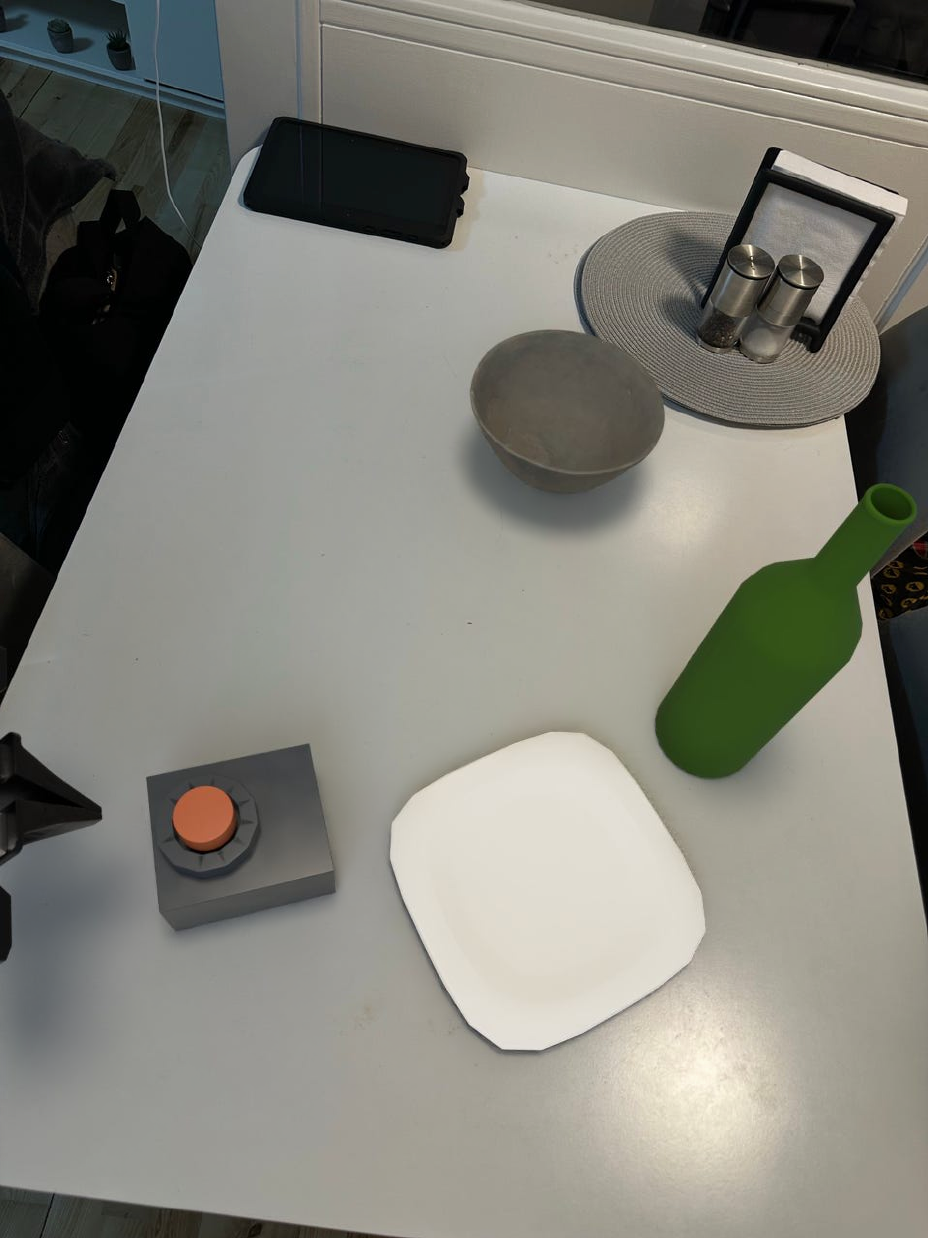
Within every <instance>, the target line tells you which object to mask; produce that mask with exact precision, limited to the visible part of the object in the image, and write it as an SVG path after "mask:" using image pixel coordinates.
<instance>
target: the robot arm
mask: <svg viewBox="0 0 928 1238" xmlns="http://www.w3.org/2000/svg"><path fill="white" fill-rule="evenodd" d="M7 651H8V650H7V648H5V647H4V646H2V645H0V693H2V692H3V691H4V690H6V689H7V688H8V652H7ZM102 820H103V808H102V806H101V805H99V804H98V803H96V802H95V801H94V800H92V799H90V798H89V797H88V796H86V795H85V794H83V793H82V792H80V791H79V790H78V789H77V788H75V787H74V786H72V785H71V784H69V783H67V782H66V781H64V779H62V778H61V777H59V776H58V775H57V774H55V773H54V772H53V771H52V770H50V769H49V768H48V767H47V766H46V765H45V764H43V762H41V761H40V760H39V759H38V758H37V757H35V756H34V755H33V754H32V753H31V752H30V751H29V750H28V749H27V748H25V747H24V745H23V742H22V737H21V734H20V733H18V732H15V731H9V732H7V733H6V734H5V735H4V736H2V737H1V738H0V867H2V866H4V865H5V864H6V863H8V862H9V861H11V860H12V859H14V858H15V857H16V856H19V854H20V853H21V852H22V850H23V848H24V846H27V845H29V844H33V843H36V842H39V841H43V840H46V839H51V838H53V837H57V836H60V835H65V834H67V833H71V832H74V831H78V830H81V829H85V828H88V827H93V826H95V825H96V824H98V823H99V822H101V821H102ZM12 914H13V913H12V895H11V894H10V893H9V892H8V891H7V890H6V889H5V888H4V887H3V886H2V885H0V965H1V964H3V963H5V962H7V960H8V958H9V955H10V953H11V951H12V950H11V949H12V948H13V923H12V920H13V919H12V917H13V915H12Z"/></svg>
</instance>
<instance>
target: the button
mask: <svg viewBox="0 0 928 1238" xmlns="http://www.w3.org/2000/svg"><path fill="white" fill-rule="evenodd" d="M236 822H237V819H236V813H235V810H234V807H233V805H232V802H231V800H230V798H229V796H228V795H227V794H226V793H225V792H224V791H222V790H220V789H219V788H216V787H212V786H201V787H197V788H194V789H192V790H190V791H188V792H187V793H185V794H184V795H183V796H182V797H181V798H180V799H179V801H178V802H177V804H176V806H175V809H174V812H173V823H174V826H175V829H176V831H177V832H178V834H179V836H180V838H181V839H182V841H183V842H184V843H185V844H186V845H187V846H188V847H190V848H192V849H194V850H198V851H210V850H214V849H217V848H219V847H221V846H222V845H224V844H225V843H226V842H227V841H228V840H229V839H230V838H231V836H232V835H233V833H234V831H235V828H236Z"/></svg>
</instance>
